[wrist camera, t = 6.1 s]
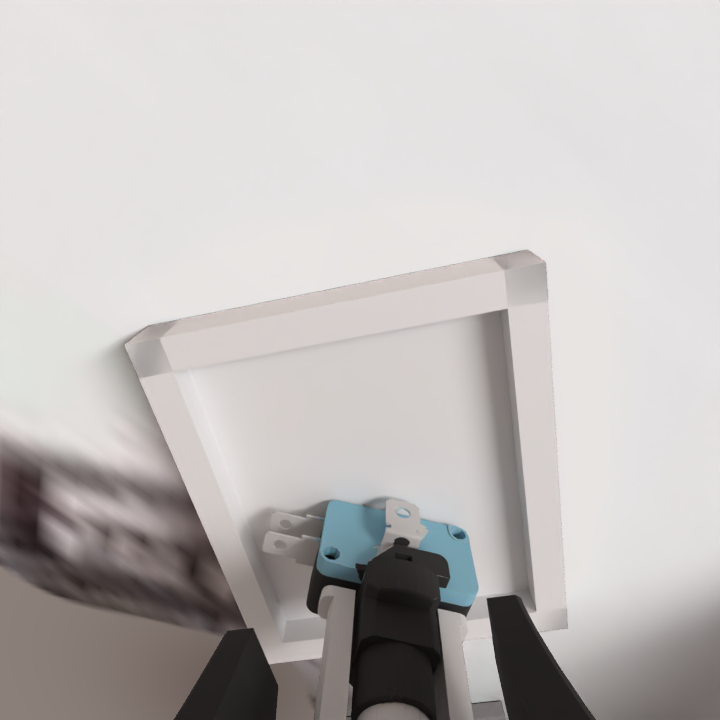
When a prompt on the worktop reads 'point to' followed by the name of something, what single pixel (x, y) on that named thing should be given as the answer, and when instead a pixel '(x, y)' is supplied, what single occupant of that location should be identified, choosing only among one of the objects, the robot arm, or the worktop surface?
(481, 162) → the worktop surface
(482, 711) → the panel
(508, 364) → the tray
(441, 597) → the push button
